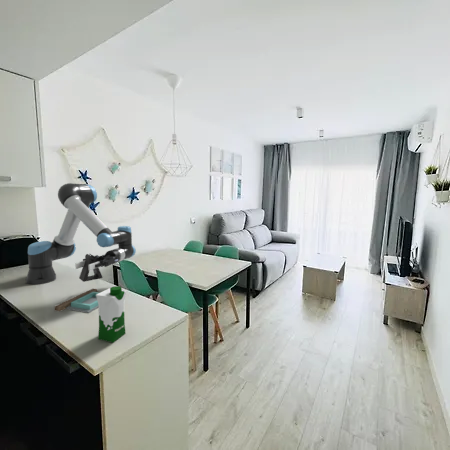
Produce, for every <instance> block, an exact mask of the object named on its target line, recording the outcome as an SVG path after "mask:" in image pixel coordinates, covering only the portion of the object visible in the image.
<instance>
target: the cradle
mask: <svg viewBox="0 0 450 450" xmlns="http://www.w3.org/2000/svg"><path fill="white" fill-rule="evenodd" d="M98 293H100V292H98V291H97V292H91V293H89V294H87V295H85V296H83V297H81V298H79V299H77V300H75V301H73V302H71V305H70V306H68V307H66V309H65V310H70V311H76V312H82V313H87V314H90V313H91V312H93V311H95V310H97V309H99V305H98V301H97V297H96V294H98Z"/></svg>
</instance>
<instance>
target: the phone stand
mask: <svg viewBox="0 0 450 450" xmlns="http://www.w3.org/2000/svg"><path fill="white" fill-rule="evenodd" d="M95 256H96V255H93V254H91V253H89V254H88V253H86V254H85V255H84V259H85V263H84V267H81V268H82V269H81V272H80V274H79V276H78V277H79V279H80V281H82V282H89V281H93V280H100V279H103V275H102V273H101V270H100V267H98V268H96V269H93V270H92V271H93V274H94V275H89V273H90V271H89V268H88V265H90V264H93V263H95V262H96V257H95ZM90 257H91V258H90Z"/></svg>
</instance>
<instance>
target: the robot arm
mask: <svg viewBox="0 0 450 450" xmlns="http://www.w3.org/2000/svg"><path fill="white" fill-rule="evenodd" d="M57 197H58V200H59V202H60V204H61V205H62V206H63V207H64V208H65V209H67V212H66V215H65V217H64V219H63V221H62V224H61V228H60V230H59V232H58V235H56V236H54V238H53V240H52V241H49V240H43V241H42V240H41V241H36V242H33V243H31V244H29V245H28V247H27V259H28V260H27V261H28V271H27V274H26V275H27V276H26V277H25V283H26V284H28V285H41V284H46V283H47V284H48V283H51V282H53V281H55V280H56V279H57V273H56V272H55V269H54V267H53V261H57V260H62V259H66V258H69V257H71V256H74V254H75V252H76V249H77V248H76V243H75V240H74V237H75V235H76V233H77V230H78V227H79V225H80V222H82V224H83V225H85V226H86V228H87V229H88V230H90V232H91V233H92V234H93V235H94V236H95V237H96V243H97V245H98V246H99V247H100V248H110V247H112V246H116V245H117V246H118V247H117V248H114V249H111V250H108V251H106V252H105V254H102V255H98V254H96V255H94V256H95V257H96V262H95V263H93V264H90V265H88V268H89V272H90V271H93V269H96V268H101V267H102V268H103V267H105V268H108V266H111V265H115V264H116V263H120V262H121V261H125V260H127V259H130V258H132V257H134V256H135V255H136V253H137V251H136V247H135V246H134V245H133V243H132V236H133V235H132V234H133V233H132V227H131V226H130V225H129V226H128V225H122V226H121V225H120V226H118V227H117V230H116V231H112V230H111V229H110V228H109V227H108V226H107V225H106V224H105V223H104V222H103V221H102V220H101V219H100V218H99V217H98V216H97V215H96V214H95V213H94V212H93V211H92V210H91V209H90V205H91V204H92V203H95V202H96V201H97V198H98V192H97V190H96V189H95V187H94V186H93V185H91V184H87V183H72V182H69V183H65V184H63V185H61V186H60V187H59V189H58V191H57ZM90 258H91V257H90ZM74 263H75V262H74ZM84 263H85V258H83V259H82V260H81V261H79V262H76V263H75V265H74V266H75V270H78V269H81V268H83V267H84ZM50 281H51V282H50Z"/></svg>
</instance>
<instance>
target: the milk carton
mask: <svg viewBox="0 0 450 450" xmlns="http://www.w3.org/2000/svg"><path fill="white" fill-rule="evenodd" d="M126 295H127V290H125V289H122V286H120V285H119V286H118V285H117V286H116V285H115V286H112V287H109V288H107V289H105V290H103V291H101V292H99V293H98V294H96V297H97V301H98V305H99V308H98V336H97V339H98V340H101V341H104V342H109V343H113V344H114V343H115V342H117V341H118V340H119V339H120V338H122V337H123V336H124V335H126V326H125V325H126V323H125V300H126Z"/></svg>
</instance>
